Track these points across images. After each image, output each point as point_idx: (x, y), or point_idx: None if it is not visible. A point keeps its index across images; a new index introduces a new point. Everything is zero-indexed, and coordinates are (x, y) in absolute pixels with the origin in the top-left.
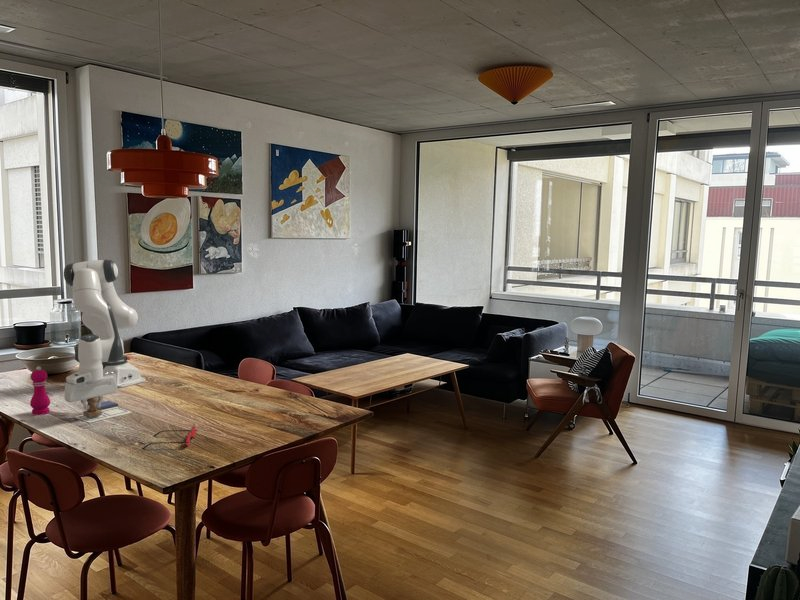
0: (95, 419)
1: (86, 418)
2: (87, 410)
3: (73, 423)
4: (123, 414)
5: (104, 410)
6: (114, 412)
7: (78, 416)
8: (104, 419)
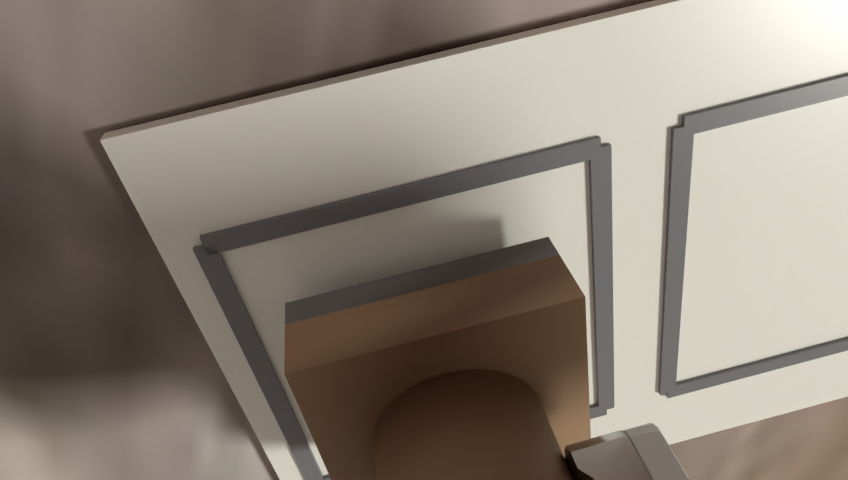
0: None
1: None
2: (385, 358)
3: (83, 466)
4: (813, 400)
5: (801, 37)
6: (809, 273)
7: (194, 180)
8: None
